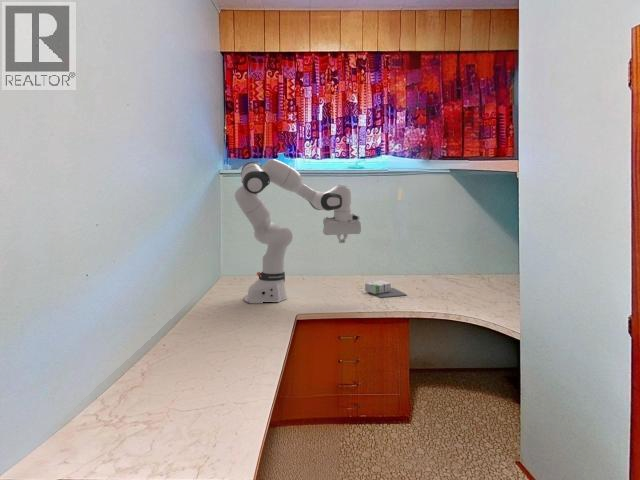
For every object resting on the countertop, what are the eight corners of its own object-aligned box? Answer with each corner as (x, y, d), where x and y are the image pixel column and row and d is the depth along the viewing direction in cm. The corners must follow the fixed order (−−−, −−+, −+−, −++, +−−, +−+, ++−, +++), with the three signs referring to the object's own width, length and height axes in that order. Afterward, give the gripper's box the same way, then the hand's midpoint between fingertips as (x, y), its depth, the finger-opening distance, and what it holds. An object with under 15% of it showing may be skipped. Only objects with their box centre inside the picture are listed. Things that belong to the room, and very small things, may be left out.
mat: (380, 298, 233) (380, 296, 233) (367, 290, 248) (367, 289, 248) (406, 295, 238) (406, 294, 238) (393, 288, 253) (393, 287, 253)
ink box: (375, 294, 237) (391, 291, 244) (375, 285, 236) (391, 282, 243) (364, 291, 244) (380, 288, 251) (364, 282, 243) (380, 280, 250)
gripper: (325, 217, 222) (325, 244, 224) (362, 216, 229) (362, 242, 230) (321, 216, 228) (321, 242, 230) (357, 215, 235) (357, 241, 236)
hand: (341, 242), depth 230 cm, fingers closed
